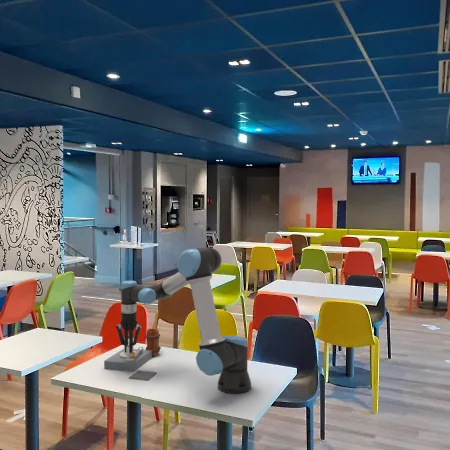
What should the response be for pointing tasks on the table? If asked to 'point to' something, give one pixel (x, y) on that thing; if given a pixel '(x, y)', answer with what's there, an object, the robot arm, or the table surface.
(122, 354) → the plug
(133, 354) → the clip
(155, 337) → the mug
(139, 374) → the pad
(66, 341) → the table surface
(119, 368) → the socket
